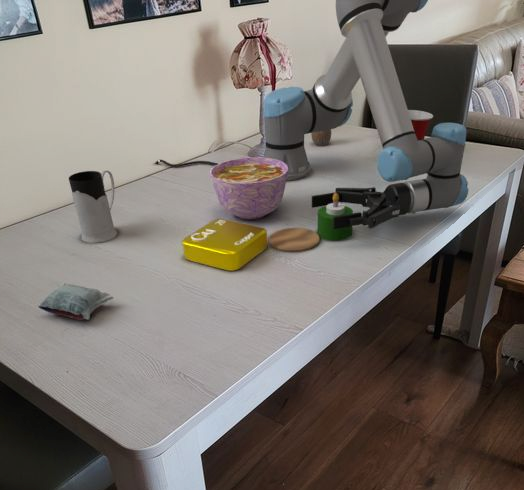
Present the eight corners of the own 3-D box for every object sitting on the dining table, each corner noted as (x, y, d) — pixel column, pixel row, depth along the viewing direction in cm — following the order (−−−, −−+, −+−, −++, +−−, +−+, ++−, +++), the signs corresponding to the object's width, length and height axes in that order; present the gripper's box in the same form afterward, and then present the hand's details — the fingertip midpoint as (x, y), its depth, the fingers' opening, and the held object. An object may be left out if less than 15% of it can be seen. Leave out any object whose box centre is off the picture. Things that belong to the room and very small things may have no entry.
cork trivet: (258, 242, 128) (258, 240, 128) (291, 225, 135) (291, 224, 134) (296, 256, 121) (296, 254, 121) (329, 238, 128) (329, 236, 127)
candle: (342, 224, 134) (344, 184, 128) (357, 237, 128) (360, 196, 122) (312, 229, 132) (312, 189, 126) (325, 243, 126) (326, 202, 120)
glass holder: (74, 240, 134) (57, 180, 125) (107, 218, 144) (94, 161, 135) (103, 244, 131) (88, 183, 122) (135, 221, 141) (123, 164, 133)
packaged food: (69, 294, 112) (63, 274, 109) (116, 305, 108) (110, 283, 105) (40, 316, 106) (32, 295, 103) (88, 328, 102) (81, 306, 99)
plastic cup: (429, 157, 172) (434, 117, 165) (394, 156, 174) (398, 117, 167) (427, 147, 181) (432, 108, 174) (394, 146, 183) (398, 108, 176)
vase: (333, 141, 191) (333, 115, 186) (328, 147, 186) (329, 120, 180) (314, 141, 193) (314, 115, 188) (309, 146, 188) (309, 120, 182)
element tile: (234, 273, 116) (232, 252, 113) (180, 258, 123) (177, 239, 120) (270, 245, 126) (270, 226, 123) (219, 233, 133) (217, 215, 130)
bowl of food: (198, 216, 142) (192, 172, 135) (250, 193, 154) (248, 152, 147) (252, 235, 131) (249, 189, 124) (305, 209, 142) (305, 165, 135)
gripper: (429, 233, 122) (343, 248, 118) (380, 196, 142) (304, 208, 138) (434, 201, 118) (344, 216, 114) (382, 167, 137) (304, 179, 133)
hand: (322, 212), depth 126 cm, fingers open, 13 cm apart
